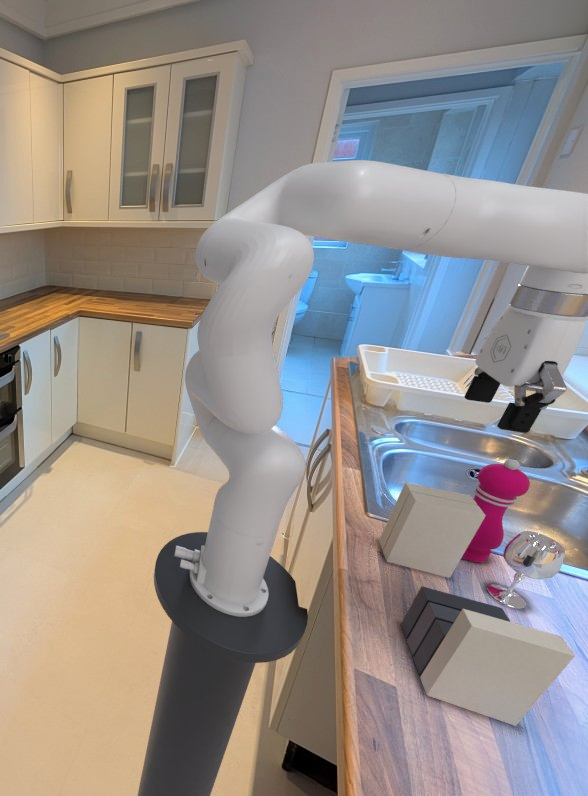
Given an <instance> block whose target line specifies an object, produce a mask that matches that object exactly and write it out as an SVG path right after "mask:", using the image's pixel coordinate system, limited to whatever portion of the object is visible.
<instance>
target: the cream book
mask: <svg viewBox="0 0 588 796" xmlns="http://www.w3.org/2000/svg"><path fill="white" fill-rule="evenodd" d="M575 657H576V654H575V653H574V652H573V651H572V649H571V648H570V646H569V644H568V643H567V641H565V639H564V638H563V636H562V635H558V634H554V633H552V632H548V631H544V630H541V629H537V628H533V627H530V626H526V625H523V624H519V623H516V622H512V621H510V622H509V621H505V620H502V619H498V618H494V617H491V616H487V615H484V614H480V613H477V612H473V611H469V610H466V609H462V611H461V612H460V614H459V615H458V617H457V619H456V620H455V622H454V624H453V625H452V627H451V628H450V630H449V632H448V633H447V635H446V636H445V638H444V640H443V641H442V643H441V644H440V646H439V648H438V649H437V651H436V652H435V654H434V656H433V657H432V659H431V661H430V662H429V664H428V665H427V667H426V669H425V670H424V672H423V673H422V675H420V676H419V679H420V681H421V684H422V687H423V689H424V692H425V695H426V696H427V697H430V698H433V699H436V700H438V701H442V702H445V703H448V704H451V705H452V706H456V707H459V708H462V709H465V710H468V711H471V712H473V713H476V714H480V715H482V716H486V717H488V718H491V719H494V720H497V721H499V722H502V723H505V724H508V725H511V726H514V727H517V726H518V724H519V723H520V722H521V721H522V719H523V718H525V716H527V714H528V713H529V711H530V710H531V709H532V707H534V705H535V704H536V703H537V702H538V701H539V700H540V699H541V697H542V696H543V695H544V693H545V692H546V691H547V690H548V689H549V688H550V686H551V685H552V684H553V683H554V682H555V680H556V679H558V677H559V676H560V675H561V674H562V672H563V671H564V670H565V669H566V668H567V667H568V665H569V664H570V663H571V661H573V659H574V658H575Z"/></svg>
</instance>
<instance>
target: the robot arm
mask: <svg viewBox="0 0 588 796" xmlns="http://www.w3.org/2000/svg"><path fill="white" fill-rule="evenodd" d="M307 236H310V237H316V238H317V237H318V238H322V239H328V240H333V241H338V242H344V243H351V244H358V245H363V246H364V245H365V246H372V247H376V248H377V247H378V248H385V249H391V250H397V251H404V252H409V253H416V254H424V255H430V256H436V257H443V258H453V259H466V260H481V261H482V260H483V261H492V262H493V261H494V262H501V263H508V264H513V265H514V264H515V265H521V266H526V269H525V270H524V272H523V275H522V276H521V279H520V281H519V282H518V285H517V287H516V289H515V291H514V293H513V296H512V297H511V299H510V301H509V304H508V305H507V307H506V308H505V309H504V311H503V312H502V313H501V314H500V316H499V318H498V319H497V321H496V322H495V323H494V325H493V327H492V329H491V330H490V332H489V333H488V335H487V337H486V339H485V340H484V342H483V344H482V346H481V348H480V350H479V352H478V354H477V356H476V358H475V364H476V366H477V367H476V368H475V369H474V372H473V374H474V376H473V377H472V380H471V382H470V384H469V386H468V388H467V390H466V392H465V395H464V399H466V400H467V401H473V402H479V403H487V404H489V403H491V402H492V401H493V399H494V397H495V395H496V394H497V392H498V389H499V388H500V386H501V385H503V386H505V387H514V393H513V394H514V397H513V398H514V402H509V403H508V404H507V405H506V408H505V410H504V412H503V414H502V415H501V418H500V419H499V421H498V423H497V428H498V429H500V430H502V431H503V430H504V431H510V432H516V433H520V434H521V433H522V434H527V433H529V432H530V431H531V429H532V428H533V426H534V424H535V422H536V421H537V419H538V417H539V415H540V414H541V412H542V410H546V409H548V406H550V405H552V404H554V403H555V402H556V400H557V399H558V398H559V397H560V396H562V395H563V394H565V393H566V392H567V387H568V386H567V385H566V383H565V381H564V378H563V375H564V374H565V373H566V370H567V368H568V367H569V364H570V362H571V360H572V359H573V356H574V354H575V352H576V351H577V348H578V345H579V344H580V341H581V339H582V335H583V334H584V330H585V326H586V323H587V321H588V193H585V192H580V191H579V192H578V191H570V190H564V189H563V190H562V189H555V188H547V187H546V188H545V187H538V186H537V187H536V186H530V185H522V184H516V183H510V182H505V181H504V182H503V181H498V180H490V179H483V178H474V177H466V176H459V175H454V174H447V173H442V172H436V171H430V170H425V169H420V168H415V167H410V166H404V165H400V164H394V163H389V162H385V161H384V162H383V161H378V160H367V159H351V160H336V161H323V162H313V163H307V164H305V165H302V166H299V167H298V168H295V169H293V170H291V171H290V172H288V173H286V174H285V175H283V176H281V177H280V178H278V179H276V180H275V181H274V182H272V183H270V184H268V185H267V186H266V187H265V188H263V189H262V190H260V191H258V192H257V193H255V194H254V195H253V196H251V197H250V198H248V199H247V200H245V201H244V202H242V203H240V204H239V205H238V206H236V207H235V208H233V209H232V210H231V211H228V212H227V213H226V214H224V215H223V216H221V217H220V218H219V219H217V220H216V221H215V222H213V223H212V224H211V225H210V226H209V227H207V229H205V231H204V232H203V234H202V235H201V236H200V238H199V240H198V242H197V245H196V249H195V253H194V257H195V259H194V260H195V265H196V267H197V270H198V271H199V273H200V274H201V275H202V276H203V278H205V279H206V280H207V281H209V282H211V283H212V284H215V285H217V286H219V287H218V288H217V289H216V291H215V292H214V294H213V295H212V296H211V298H210V300H209V302H208V304H207V305H206V307H205V309H204V311H203V312H202V315H201V317H200V319H199V323H198V327H197V332H196V334H197V335H196V336H197V337H196V339H197V345H198V350H197V351H196V352H195V353H194V354H193V355H192V357H190V359H189V361H188V364H187V365H186V369H185V374H184V380H185V381H184V383H185V384H184V385H185V389H186V391H187V395H188V399H189V401H190V405H191V408H192V411H193V414H194V417H195V420H196V423H197V426H198V429H199V432H200V434H201V436H202V438H203V440H204V441H205V443H206V444H207V445H208V447H209V448H210V449H211V450H212V451H213V452H214V453H215V455H216V456H217V457H218V459H219V460H220V461H221V463H222V464H223V465H224V466H225V467H226V469H227V471H228V474H229V475H228V476H229V478H228V479H227V481H226V482H225V483H223V484H222V485H221V486H220V487H219V489H218V490H217V492H216V494H215V498H214V501H213V508H212V512H211V515H210V521H209V525H208V529H207V530H208V531H207V532H208V534H207V539H206V543H205V546H203V545H202V546H201V551H199V550H196V549H195V551H191V550H188V549H186V548H183V547H180V546H177V545H176V550H175V557H179V558H182V559H187V560H191V561H193V562H192V563H191V562H189V561H185V560H182V559H181V564H180V567H181V568H184V569H189V570H190V573H189V576H190V581H191V584H192V586H193V588H194V590H195V591H196V593H197V594H198V595H199V596H200V597H201V599H202V600H204V601H205V602H206V603H207V604H208V605H210V606H211V607H213V608H214V609H216V610H218V611H221V612H223V613H226V614H229V615H232V616H238V617H247V616H253V615H255V614H258V613H259V612H261V611H262V610H263V609H264V607H265V606H266V603H267V601H268V595H269V593H268V587H267V585H266V582H265V580H264V579H263V576H264V573H265V570H266V567H267V563H268V560H269V557H270V556H271V553H272V550H273V548H274V544H275V541H276V538H277V534H278V531H279V527H280V524H281V521H282V519H283V515H284V513H285V510H286V508H287V506H288V503H289V502H290V499H291V498H292V496H293V494H294V493H295V491H296V489H297V488H298V487H299V485H300V483H301V482H302V480H303V479H304V476H305V475H306V470H307V463H306V458H305V455H304V454H303V451H302V449H301V448H300V447H299V445H298V443H296V442H295V441H294V439H293V438H291V437H290V435H288V433H286V432H285V431H284V430H282V429H281V428H280V427H279V426H278V425H277V424H278V422H279V421H280V419H281V417H282V414H283V409H284V396H283V392H282V387H281V386H282V385H281V382H280V378H279V373H278V368H277V363H276V357H275V354H274V353H275V352H274V347H273V345H274V344H273V338H272V337H273V334H272V333H273V328H274V326H275V324H276V321H277V319H278V317H280V314H282V312H283V311H284V309H285V308H286V307H287V306H288V304H289V303H290V302H291V301H292V300H293V298H295V296H296V295H297V294H298V293H299V292H300V291H301V289H302V288H303V287H304V285H305V284H306V283H307V281H308V279H309V277H310V275H311V272H312V270H313V267H314V262H315V252H314V248H313V244H312V242H311V241H310V239H309V238H308V237H307ZM527 391H529V392H534V393H531V394H529V395H527Z"/></svg>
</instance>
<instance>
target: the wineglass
mask: <svg viewBox="0 0 588 796" xmlns="http://www.w3.org/2000/svg"><path fill="white" fill-rule="evenodd" d="M502 555H503V559H504V561H505V563H506V564H507V566H508V567H509V568H511V569H512V570H513V571H514V572H515V574H514V575H513V581H512V583H511V584H510V585H509V587H505V586H502V585H500V584H489V585H487V587H486V590H487V592H488V594H489V595H490V596H491V597H492V598H494V599H495V600H496V601H498V602H500V603H501V604H503V605H505V606H507V607H510V608H513V609H520V610H521V609H524V608H526V601H525V600H524V599H523V598H522V597H521V596H520V594H518V593H516V592H515V591H514V589H515V587H516V586H517V585H519V583H521V582H522V581H523V580H525V577H526V578H529V579H532V580H537V581H538V580H539V581H540V580H543V581H544V580H549V579H552V578H553V577H555V576H556V575H557V574H558V573H559V572H560V570H561V568H562V566H563V564H564V560H565V555H566V549H565V547H564V546H563V545H562V544H561V543H560V542H558V541H557V540H555V539H553V538H551V537H550V536H548V535H545V534H543V533H539V532H536V531H532V530H524V531H521V532H520V533H518V534H517V535H516V536H514V537H513V538H511V540H510V541H509V542H508V543H507V544H506V546H505V547H504V549H503V554H502Z"/></svg>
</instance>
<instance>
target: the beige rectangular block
mask: <svg viewBox="0 0 588 796" xmlns="http://www.w3.org/2000/svg"><path fill="white" fill-rule="evenodd" d="M473 498H474V497H472V495H471V494H466V493H462V492H456V491H451V490H446V489H441V488H436V487H431V486H428V485H427V486H426V485H422V484H416V483H411V482H407V481H405V482H404V484H403V485H402V489H401V491H400V493H399V495H398V498H397V500H396V502H395V504H394V506H393V508H392V510H391V513H390V514H389V517H388V520H387V521H386V524H385V526H384V528H383V531H382V532H381V535H380V537H379V539H378V543H379V546H380V549H381V550H382V554H383V557H384V559H385V562H386V563H389V564H390V563H391V564H394V565H397V566H402V567H406V568H409V569H412V570H417V571H421V572H424V573H428V574H432V575H436V576H440V577H443V578H447V579H450V578H451V577H452V575H453V574H454V572H455V570H456V568H457V566H458V565H459V564H460V562H461V560H462V559H463V558H462V556H463V554H464V553H465V551H466V549H467V547H468V546H469V544H470V542H471V540H472V539H473V537H474V535H475V533H476V532H477V530H478V528H479V526H480V525H481V523H482V521H483V520H484V518H485V516H486V515H485V514H484V513H483V511H482V510H481V509H480V507H479V506H477V503H476V502H475V501H474V499H473Z"/></svg>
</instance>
